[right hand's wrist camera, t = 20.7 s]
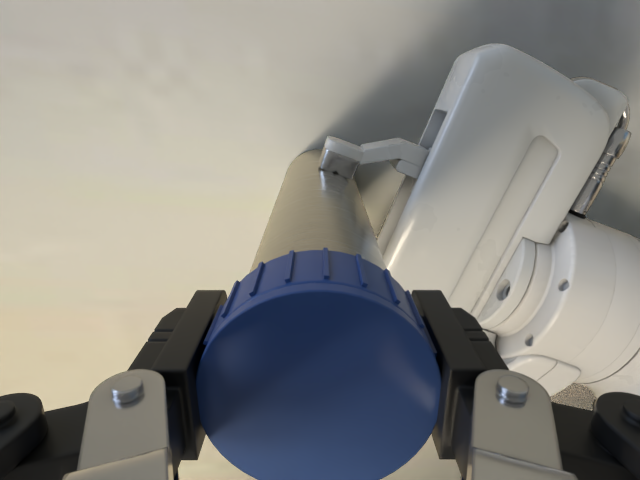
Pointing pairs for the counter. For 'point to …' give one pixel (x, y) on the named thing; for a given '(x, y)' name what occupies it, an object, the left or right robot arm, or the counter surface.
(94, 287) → the counter surface
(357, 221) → the metal cylinder
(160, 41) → the counter surface
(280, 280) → the lid
